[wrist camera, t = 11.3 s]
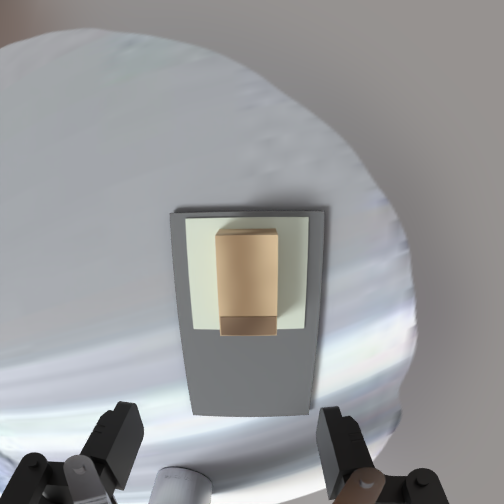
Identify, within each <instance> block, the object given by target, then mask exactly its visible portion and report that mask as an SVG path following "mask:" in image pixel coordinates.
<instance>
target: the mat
mask: <svg viewBox="0 0 504 504" xmlns="http://www.w3.org/2000/svg"><path fill="white" fill-rule="evenodd" d="M170 228H171V243H172V257H173V269H174V280H175V290H176V300H177V309H178V318H179V326H180V334H181V342H182V349H183V357H184V364H185V370H186V377H187V383H188V389H189V395H190V401H191V407H192V412H193V415H202V416H225V417H272V416H295V415H309V408H310V400H311V392H312V384H313V375H314V367H315V357H316V347H317V337H318V325H319V313H320V300H321V284H322V267H323V245H324V211H220V212H184V213H170ZM270 228H276V231H277V233H278V298H277V335H270V336H220V323H219V307H218V289H217V269H216V247H215V235H216V233H217V232H218V230H219V229H270Z"/></svg>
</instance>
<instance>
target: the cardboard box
mask: <svg viewBox="0 0 504 504" xmlns="http://www.w3.org/2000/svg"><path fill="white" fill-rule="evenodd" d="M215 247H216V269H217V289H218V307H219V323H220V336H270V335H277V298H278V233H277V231H276V228H270V229H219V230H218V232H217V233H216V235H215Z"/></svg>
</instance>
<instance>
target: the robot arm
mask: <svg viewBox="0 0 504 504" xmlns="http://www.w3.org/2000/svg"><path fill="white" fill-rule="evenodd" d="M143 436H144V427H143V423H142V420H141V417H140V414H139V411H138V408H137V405H136V404H135V403H129V402H122V401H119V402H118V403H117V405H116V407H115V409H114V411H111V410H108V411H107V412H106V413H104V414H103V415H102V416H101V417H100V419H99V420H98V422H97V425H96V426H95V428H94V429H93V432H92V433H91V435H90V437H89V438H88V440H87V442H86V444H85V446H84V447H83V449H82V451H81V453H80V454H79V455H74V456H71V457H70V458H68V459H67V460H66V461H65V462H49V461H47V459H46V458H45V457H44V456H43V455H42V454H40V453H29V454H27V455H25V456H24V457H23V458H22V460H21V462H20V463H19V465H18V467H17V468H16V470H15V472H14V474H13V475H12V477H11V479H10V481H9V483H8V484H7V486H6V488H5V490H4V492H3V494H2V496H1V498H0V504H118V503H117V501H116V499H115V497H114V495H113V493H114V490H115V489H119V490H123V491H124V489H125V486H126V483H127V480H128V478H129V475H130V472H131V469H132V467H133V464H134V461H135V458H136V456H137V453H138V450H139V448H140V445H141V442H142V440H143ZM316 440H317V446H318V451H319V455H320V460H321V465H322V469H323V474H324V479H325V483H326V488H327V493H328V498H329V500H332V499H335V500H334V502H333V503H332V504H449V502H448V500H447V497H446V495H445V493H444V490H443V488H442V485H441V483H440V481H439V478H438V476H437V475H436V474H435V472H433V471H432V470H430V469H425V468H419V469H416V470H413V471H412V472H410V473H409V475H408V476H388V475H385V474H383V473H382V472H381V471H380V470H378V469H376V468H375V467H374V465H373V462H372V459H371V457H370V454H369V451H368V449H367V446H366V443H365V441H364V438H363V435H362V434H361V430H360V428H359V425H358V423H357V422H356V421H355V420H354V419H353V418H352V417H351V416H345V417H342V415H341V412H340V409H339V407H338V406H334V407H324V408H321V409H320V413H319V419H318V425H317V431H316ZM211 494H212V483H211V481H210V480H209V479H208V478H207V477H205V476H204V475H202V474H200V473H198V472H195V471H192V470H188V469H184V468H175V467H172V468H164V469H162V470H160V471H159V472H158V473H157V476H156V479H155V483H154V486H153V490H152V493H151V496H150V500H149V504H210V502H211Z"/></svg>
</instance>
